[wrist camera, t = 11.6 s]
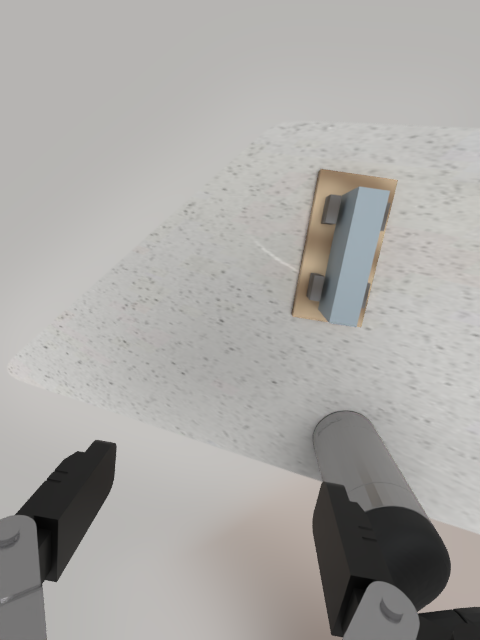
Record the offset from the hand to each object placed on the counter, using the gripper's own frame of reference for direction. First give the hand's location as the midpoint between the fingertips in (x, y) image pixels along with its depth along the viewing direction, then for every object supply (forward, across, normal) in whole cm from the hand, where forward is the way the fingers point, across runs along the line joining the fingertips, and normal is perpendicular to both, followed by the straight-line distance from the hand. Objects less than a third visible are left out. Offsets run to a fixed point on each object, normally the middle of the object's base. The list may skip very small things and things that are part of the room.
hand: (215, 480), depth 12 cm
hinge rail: (+33, -10, -9) cm, 36 cm away
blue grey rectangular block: (+31, -10, -9) cm, 34 cm away
